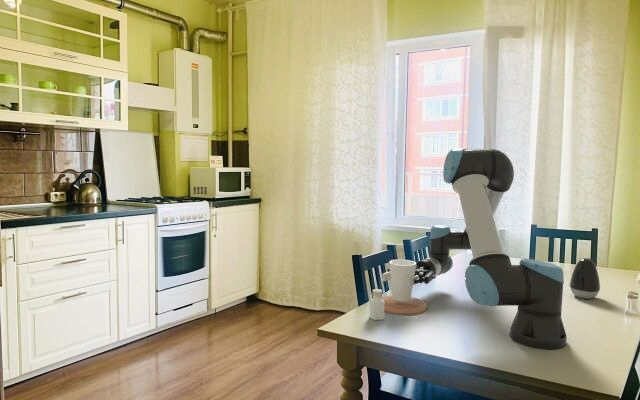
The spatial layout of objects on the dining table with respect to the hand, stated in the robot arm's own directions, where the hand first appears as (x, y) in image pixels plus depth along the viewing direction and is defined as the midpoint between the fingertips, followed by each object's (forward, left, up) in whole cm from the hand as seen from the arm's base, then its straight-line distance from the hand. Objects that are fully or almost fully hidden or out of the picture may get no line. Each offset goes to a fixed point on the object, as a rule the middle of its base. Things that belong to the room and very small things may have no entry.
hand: (395, 280), depth 162 cm
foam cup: (+4, -3, -8) cm, 9 cm away
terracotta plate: (+3, -3, -10) cm, 11 cm away
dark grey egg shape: (+19, -76, -11) cm, 79 cm away
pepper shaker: (-10, +7, -11) cm, 16 cm away
